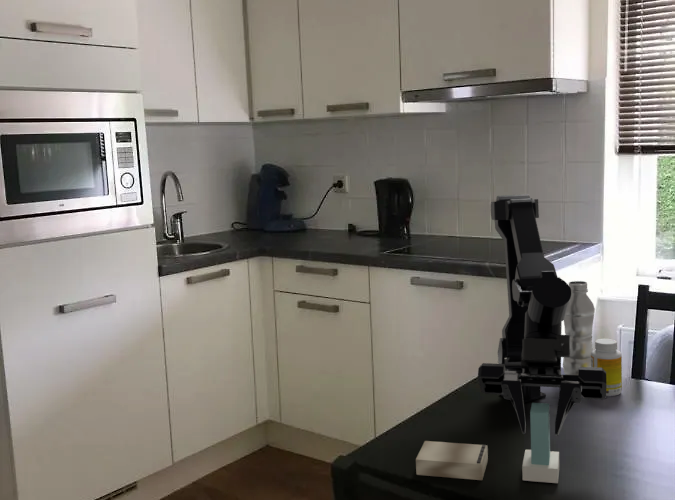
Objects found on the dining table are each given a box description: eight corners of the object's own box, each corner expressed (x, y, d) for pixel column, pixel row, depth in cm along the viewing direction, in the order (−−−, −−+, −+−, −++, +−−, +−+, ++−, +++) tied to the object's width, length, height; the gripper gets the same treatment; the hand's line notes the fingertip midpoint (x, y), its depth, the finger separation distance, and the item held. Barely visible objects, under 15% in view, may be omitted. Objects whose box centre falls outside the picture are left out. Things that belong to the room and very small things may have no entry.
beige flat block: (416, 474, 115) (415, 458, 114) (425, 455, 121) (424, 439, 121) (482, 480, 111) (481, 463, 111) (487, 460, 118) (487, 444, 118)
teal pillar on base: (522, 480, 110) (520, 414, 108) (525, 462, 116) (524, 399, 114) (557, 483, 108) (556, 416, 107) (559, 465, 114) (558, 401, 112)
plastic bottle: (595, 373, 155) (594, 279, 152) (595, 384, 149) (594, 286, 146) (563, 372, 157) (561, 279, 154) (562, 382, 151) (560, 286, 148)
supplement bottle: (628, 394, 142) (628, 342, 141) (604, 399, 141) (604, 346, 139) (608, 385, 148) (608, 335, 146) (585, 390, 146) (584, 339, 144)
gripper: (477, 313, 115) (469, 407, 106) (605, 315, 109) (608, 415, 100) (485, 347, 124) (478, 437, 115) (604, 351, 118) (607, 446, 109)
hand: (540, 433), depth 110 cm, fingers open, 4 cm apart
